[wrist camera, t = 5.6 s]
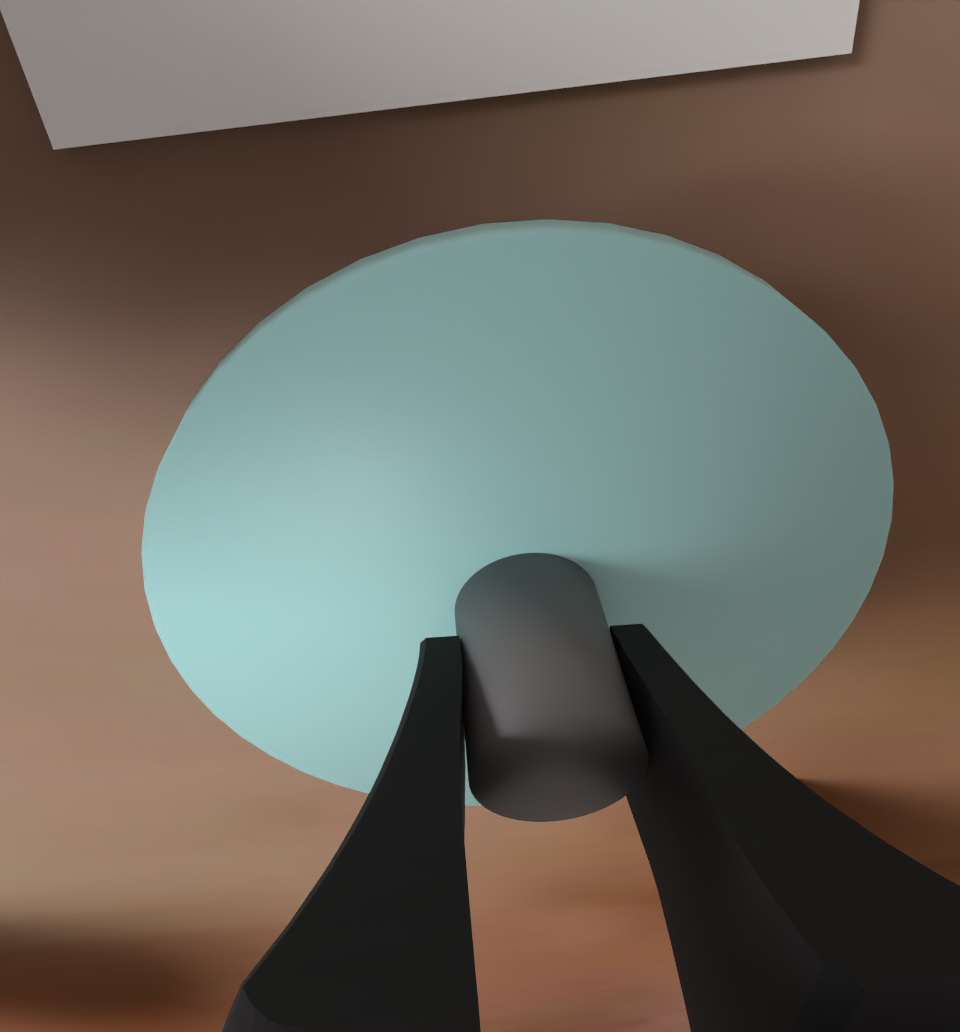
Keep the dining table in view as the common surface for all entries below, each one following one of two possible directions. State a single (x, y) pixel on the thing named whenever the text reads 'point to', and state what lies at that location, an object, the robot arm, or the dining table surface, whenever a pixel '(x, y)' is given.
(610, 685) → the lid
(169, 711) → the dining table surface
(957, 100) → the dining table surface
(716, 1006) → the robot arm
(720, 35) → the mat
